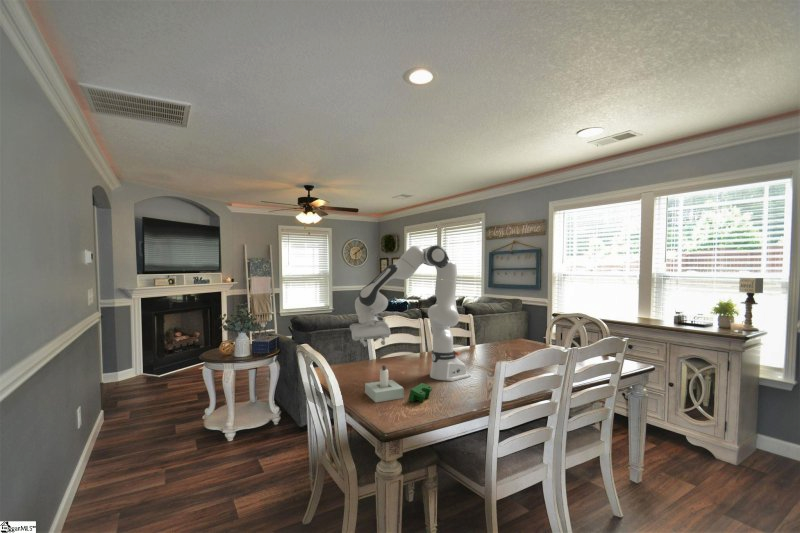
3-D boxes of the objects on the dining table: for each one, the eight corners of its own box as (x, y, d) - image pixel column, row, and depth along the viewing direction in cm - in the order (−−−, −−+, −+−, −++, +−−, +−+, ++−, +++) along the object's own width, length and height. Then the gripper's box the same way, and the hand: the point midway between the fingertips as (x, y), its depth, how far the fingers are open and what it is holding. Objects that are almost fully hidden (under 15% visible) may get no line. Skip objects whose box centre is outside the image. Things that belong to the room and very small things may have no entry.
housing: (391, 388, 187) (391, 379, 187) (403, 397, 175) (403, 388, 175) (365, 392, 181) (365, 383, 181) (375, 402, 169) (375, 392, 169)
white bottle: (386, 393, 181) (386, 364, 180) (389, 396, 177) (389, 366, 177) (378, 394, 179) (378, 365, 179) (381, 397, 175) (381, 367, 175)
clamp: (419, 412, 169) (420, 397, 165) (408, 406, 172) (408, 392, 168) (432, 395, 178) (433, 380, 174) (421, 389, 181) (422, 375, 176)
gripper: (350, 320, 191) (356, 343, 183) (387, 317, 200) (395, 339, 191) (347, 327, 196) (353, 350, 187) (384, 324, 204) (391, 346, 195)
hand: (374, 345), depth 189 cm, fingers open, 8 cm apart
